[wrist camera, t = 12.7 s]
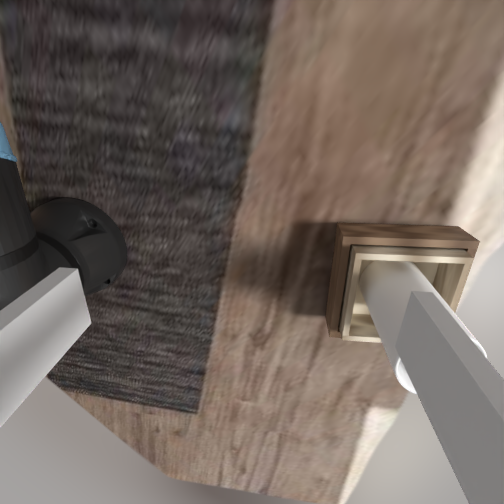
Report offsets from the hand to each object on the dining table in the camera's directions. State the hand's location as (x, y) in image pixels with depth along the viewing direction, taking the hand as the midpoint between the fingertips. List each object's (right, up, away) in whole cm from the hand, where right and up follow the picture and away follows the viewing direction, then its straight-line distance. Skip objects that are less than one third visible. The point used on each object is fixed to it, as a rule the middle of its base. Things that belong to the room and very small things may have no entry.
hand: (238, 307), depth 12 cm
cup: (+20, -2, +32) cm, 37 cm away
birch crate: (+20, -2, +32) cm, 38 cm away
